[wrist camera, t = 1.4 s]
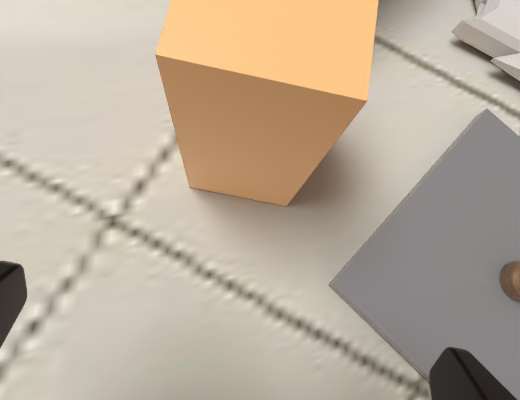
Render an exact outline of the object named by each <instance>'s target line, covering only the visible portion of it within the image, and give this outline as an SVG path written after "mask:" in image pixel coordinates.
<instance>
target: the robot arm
mask: <svg viewBox="0 0 520 400" xmlns="http://www.w3.org/2000/svg"><path fill="white" fill-rule="evenodd" d="M26 299H27V287H26V281H25V274H24V269H23V267H22V265H20V264H18V263H12V262H7V261H0V348H1V346H2V344H3V343H4V341H5V339H6V337H7V335H8V333H9V332H10V330H11V328H12V326H13V324H14V323H15V321H16V319H17V317H18V315H19V313H20V312H21V310H22V308H23V306H24V304H25V302H26ZM429 384H430V390H431V397H432V400H517V399H516V398H515V397H514V396H513V395H512V394H511V393H510V392H509V391H508V390H507V389H506V388H505V387H504V386H503V385H502V384H501V383H500V382H499V381H498V380H497V379H496V378H495V377H494V376H493V375H492V374H491V373H490V372H489V371H488V370H487V369H486V368H485V367H484V366H483V365H482V364H481V363H480V362H479V361H478V360H477V359H476V358H475V357H474V356H473V355H472V354H471V353H470V352H469V351H467V350H465V349H460V348H455V347H447V348H445V349H444V350H443V352H442V353H441V355H440V356H439V357H438V359H437V360H436V362H435V363H434V364H433V366H432V367H431V369H430V372H429Z"/></svg>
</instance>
